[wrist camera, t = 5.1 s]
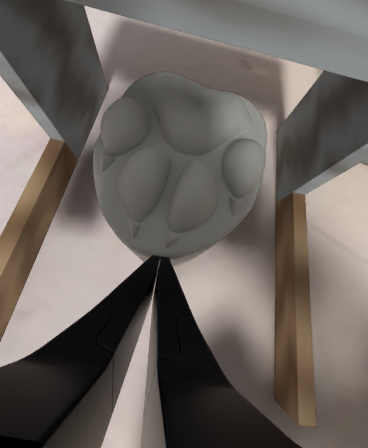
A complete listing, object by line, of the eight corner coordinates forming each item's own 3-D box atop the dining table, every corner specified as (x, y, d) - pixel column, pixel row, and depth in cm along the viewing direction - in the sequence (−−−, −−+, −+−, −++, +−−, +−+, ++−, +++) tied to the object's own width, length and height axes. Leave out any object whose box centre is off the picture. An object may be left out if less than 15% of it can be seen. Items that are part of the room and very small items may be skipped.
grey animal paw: (236, 165, 20) (290, 84, 11) (209, 283, 16) (261, 289, 7) (147, 136, 19) (137, 32, 11) (96, 248, 15) (20, 213, 7)
